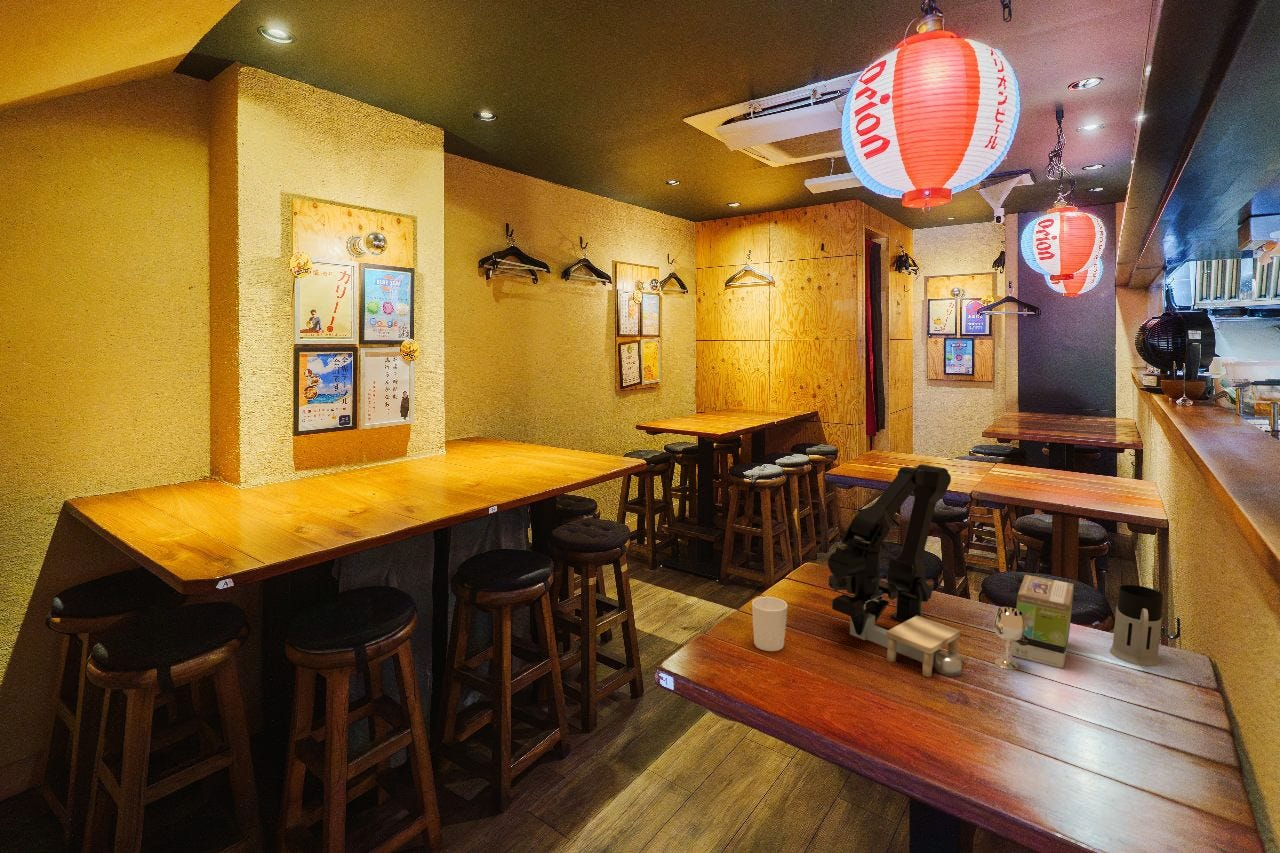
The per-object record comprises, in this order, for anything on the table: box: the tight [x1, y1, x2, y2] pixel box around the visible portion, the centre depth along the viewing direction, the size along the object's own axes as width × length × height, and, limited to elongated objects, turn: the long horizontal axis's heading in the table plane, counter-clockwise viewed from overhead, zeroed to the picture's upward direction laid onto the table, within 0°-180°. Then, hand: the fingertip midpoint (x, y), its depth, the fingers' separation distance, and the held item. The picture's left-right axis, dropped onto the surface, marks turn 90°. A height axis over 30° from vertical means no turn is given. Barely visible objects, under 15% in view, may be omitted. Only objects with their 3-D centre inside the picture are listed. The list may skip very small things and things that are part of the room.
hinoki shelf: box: [886, 616, 962, 678], centre depth 137 cm, size 13×10×6 cm
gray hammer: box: [849, 613, 941, 668], centre depth 142 cm, size 4×20×5 cm, turn 37°
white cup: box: [751, 596, 788, 652], centre depth 144 cm, size 8×8×10 cm
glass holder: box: [1109, 584, 1164, 667], centre depth 135 cm, size 9×14×15 cm, turn 148°
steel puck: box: [934, 650, 963, 677], centre depth 133 cm, size 5×5×3 cm
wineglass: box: [993, 606, 1025, 670], centre depth 134 cm, size 6×6×12 cm
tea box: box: [1011, 574, 1075, 669], centre depth 140 cm, size 15×10×15 cm, turn 143°
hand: (864, 631), depth 149 cm, fingers closed on gray hammer, 4 cm apart
